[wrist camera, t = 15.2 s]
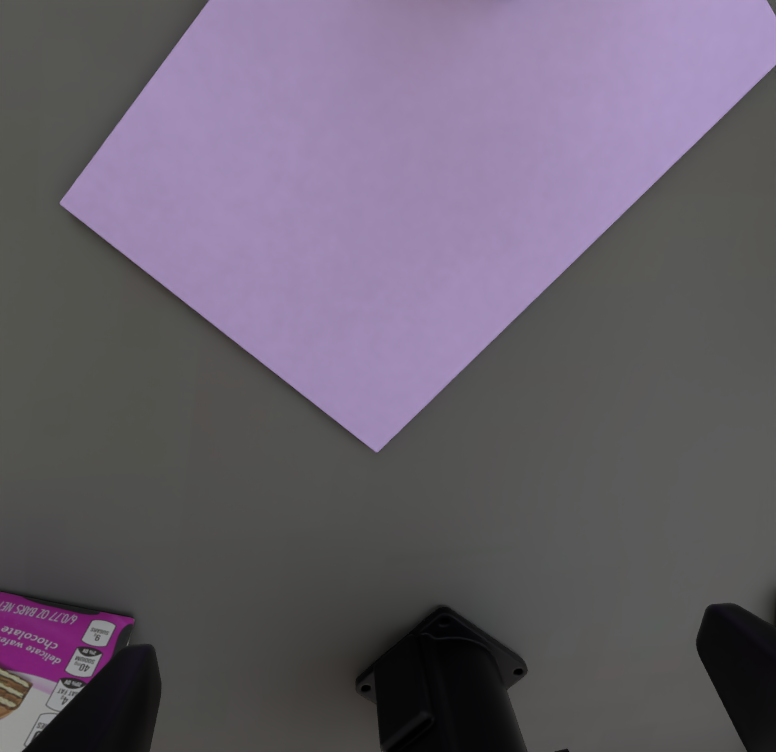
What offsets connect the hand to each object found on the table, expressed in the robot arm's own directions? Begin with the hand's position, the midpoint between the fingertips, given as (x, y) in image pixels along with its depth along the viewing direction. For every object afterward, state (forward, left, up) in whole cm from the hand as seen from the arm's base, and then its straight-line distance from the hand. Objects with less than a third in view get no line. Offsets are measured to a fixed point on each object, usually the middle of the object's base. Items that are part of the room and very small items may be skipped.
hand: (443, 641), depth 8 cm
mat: (+4, -7, -13) cm, 16 cm away
